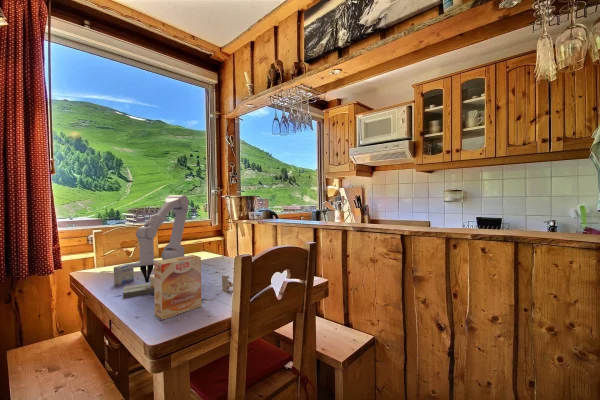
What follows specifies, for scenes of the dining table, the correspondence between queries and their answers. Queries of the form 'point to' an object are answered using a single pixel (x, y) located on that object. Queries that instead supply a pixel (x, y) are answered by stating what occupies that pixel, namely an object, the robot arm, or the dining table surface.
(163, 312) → the coffeecake box
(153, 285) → the fader knob
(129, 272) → the medicine box
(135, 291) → the fader panel
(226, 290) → the architectural model
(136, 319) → the dining table surface
